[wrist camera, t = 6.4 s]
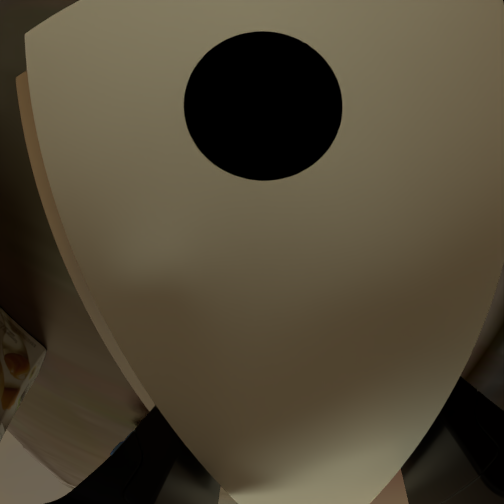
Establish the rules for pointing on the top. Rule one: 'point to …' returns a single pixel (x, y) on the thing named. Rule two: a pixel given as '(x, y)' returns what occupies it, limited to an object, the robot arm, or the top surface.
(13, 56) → the top surface
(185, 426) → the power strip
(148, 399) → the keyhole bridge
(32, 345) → the coffee box
